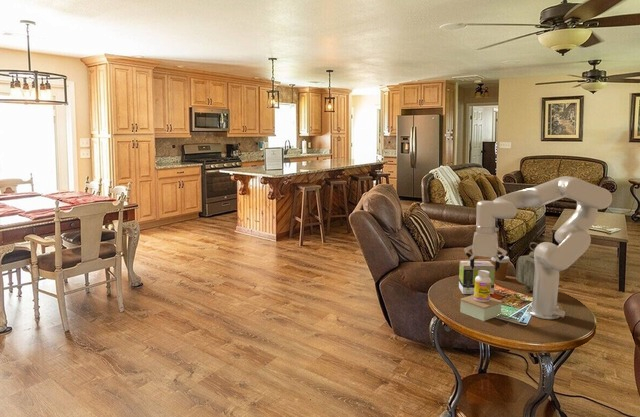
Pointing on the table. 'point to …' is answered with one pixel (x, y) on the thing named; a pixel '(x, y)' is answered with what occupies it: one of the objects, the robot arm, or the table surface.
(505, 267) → the disposable coffee cup
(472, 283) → the tea box
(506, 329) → the table surface
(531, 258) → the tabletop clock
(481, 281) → the supplement bottle
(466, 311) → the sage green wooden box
